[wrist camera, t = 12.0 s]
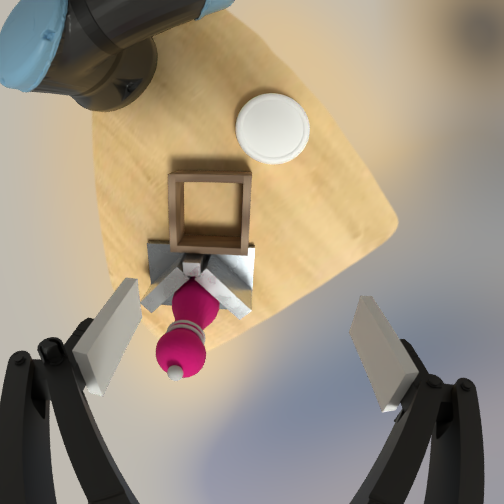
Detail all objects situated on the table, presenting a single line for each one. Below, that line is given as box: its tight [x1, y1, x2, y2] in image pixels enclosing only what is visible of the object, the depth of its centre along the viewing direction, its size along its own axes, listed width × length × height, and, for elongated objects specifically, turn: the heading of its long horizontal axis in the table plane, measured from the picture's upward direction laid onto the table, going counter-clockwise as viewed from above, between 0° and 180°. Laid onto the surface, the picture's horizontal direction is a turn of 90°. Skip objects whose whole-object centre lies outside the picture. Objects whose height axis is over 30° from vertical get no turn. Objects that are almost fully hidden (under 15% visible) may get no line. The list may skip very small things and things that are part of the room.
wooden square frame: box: [168, 170, 252, 256], centre depth 40 cm, size 11×11×5 cm
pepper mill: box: [156, 276, 220, 381], centre depth 37 cm, size 7×7×20 cm
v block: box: [140, 241, 255, 320], centre depth 43 cm, size 17×11×7 cm, turn 87°
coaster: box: [236, 93, 310, 164], centre depth 37 cm, size 10×10×4 cm
